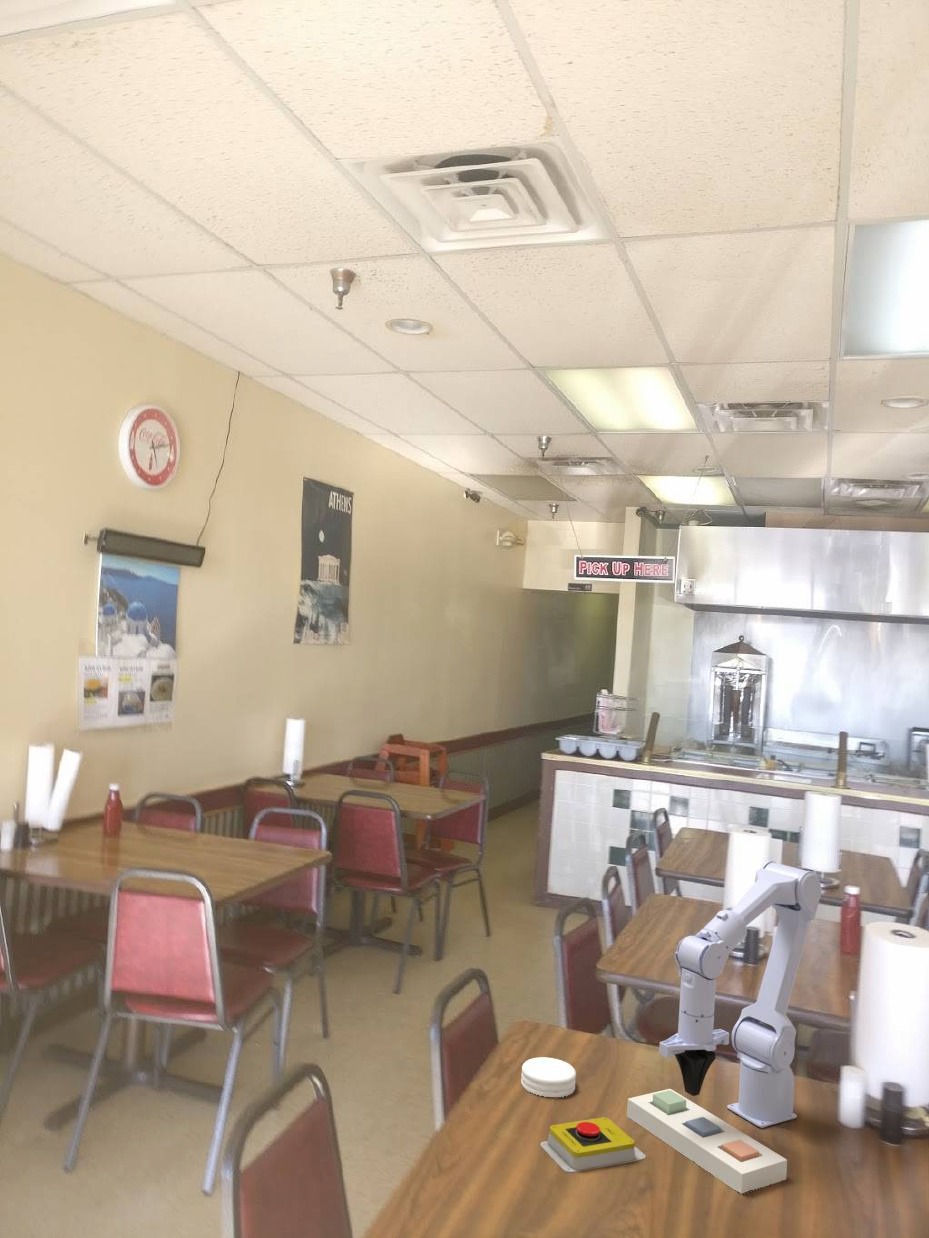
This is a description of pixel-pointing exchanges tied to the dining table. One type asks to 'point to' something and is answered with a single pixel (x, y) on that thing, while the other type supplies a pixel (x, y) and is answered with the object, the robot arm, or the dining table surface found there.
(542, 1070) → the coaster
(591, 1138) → the emergency button
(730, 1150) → the terracotta button
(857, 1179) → the dining table surface
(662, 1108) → the sage-green button
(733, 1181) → the button panel
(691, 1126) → the slate-blue button
